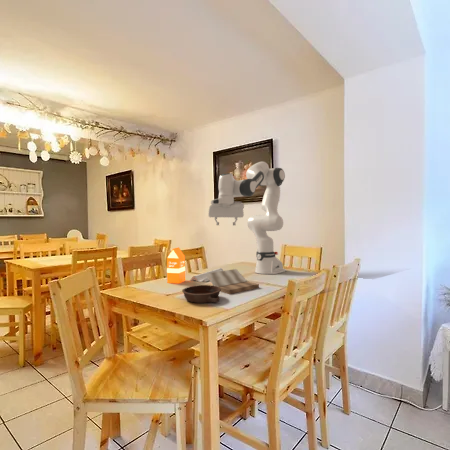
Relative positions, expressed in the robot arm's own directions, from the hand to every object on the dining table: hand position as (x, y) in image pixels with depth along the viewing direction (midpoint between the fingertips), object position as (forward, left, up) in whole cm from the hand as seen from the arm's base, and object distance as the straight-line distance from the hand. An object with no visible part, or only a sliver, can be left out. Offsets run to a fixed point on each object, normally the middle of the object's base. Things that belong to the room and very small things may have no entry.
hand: (225, 225), depth 170 cm
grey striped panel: (+5, +7, -30) cm, 31 cm away
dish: (+30, +20, -34) cm, 49 cm away
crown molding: (-3, -20, -34) cm, 39 cm away
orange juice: (+21, -22, -33) cm, 45 cm away
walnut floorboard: (+5, +17, -33) cm, 37 cm away
